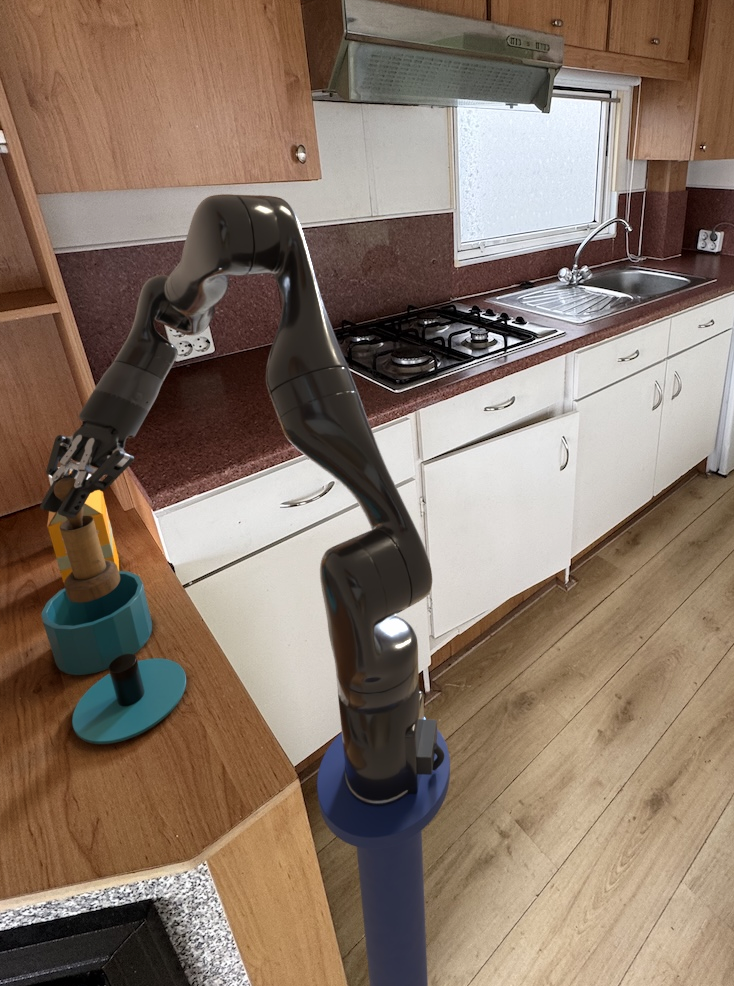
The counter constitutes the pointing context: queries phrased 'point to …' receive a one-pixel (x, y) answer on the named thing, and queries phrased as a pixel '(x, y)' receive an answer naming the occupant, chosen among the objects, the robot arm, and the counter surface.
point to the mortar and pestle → (84, 555)
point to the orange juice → (103, 527)
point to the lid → (128, 699)
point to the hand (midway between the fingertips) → (56, 512)
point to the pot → (98, 627)
